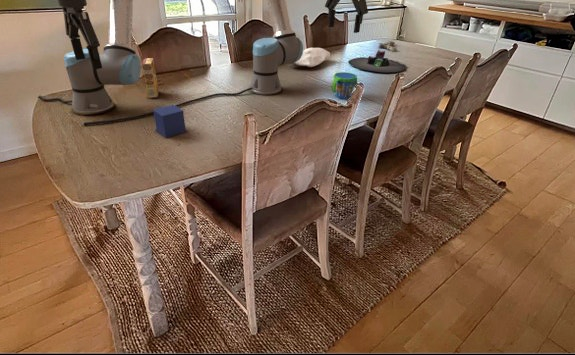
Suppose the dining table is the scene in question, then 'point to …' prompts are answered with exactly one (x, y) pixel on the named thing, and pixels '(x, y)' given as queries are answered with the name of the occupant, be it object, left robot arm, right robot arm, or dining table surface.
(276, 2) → the right robot arm
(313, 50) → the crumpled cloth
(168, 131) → the blue cube
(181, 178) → the dining table surface
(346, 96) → the snack cup
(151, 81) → the candy box
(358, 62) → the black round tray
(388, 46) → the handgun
